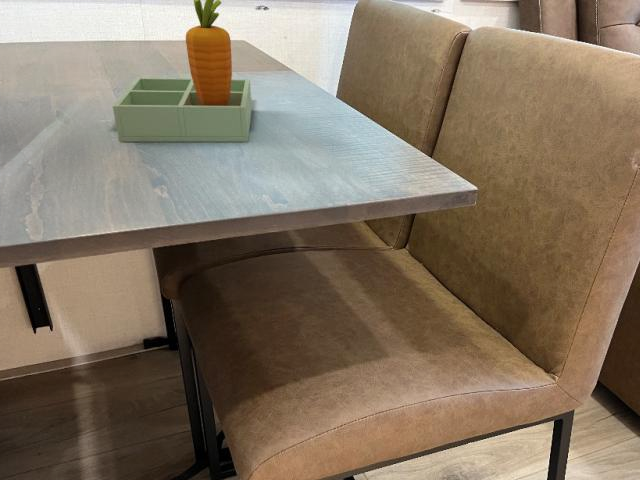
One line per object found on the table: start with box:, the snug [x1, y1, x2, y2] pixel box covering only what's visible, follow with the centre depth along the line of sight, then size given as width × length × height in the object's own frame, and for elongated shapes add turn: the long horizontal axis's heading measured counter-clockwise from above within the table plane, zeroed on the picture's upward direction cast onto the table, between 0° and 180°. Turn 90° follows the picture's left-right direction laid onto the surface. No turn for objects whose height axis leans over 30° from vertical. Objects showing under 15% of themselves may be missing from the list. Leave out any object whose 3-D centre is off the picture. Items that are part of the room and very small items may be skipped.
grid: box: [112, 77, 253, 143], centre depth 80 cm, size 15×15×4 cm
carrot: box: [185, 0, 233, 106], centre depth 74 cm, size 5×5×15 cm
